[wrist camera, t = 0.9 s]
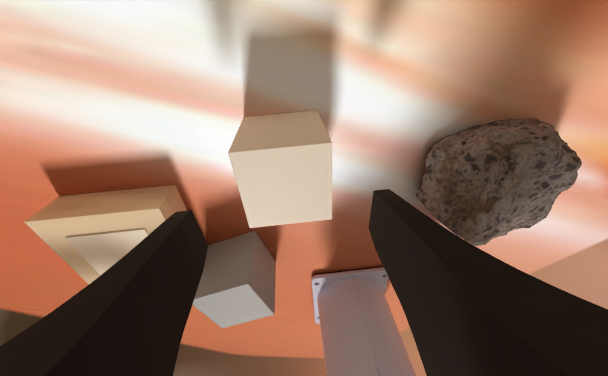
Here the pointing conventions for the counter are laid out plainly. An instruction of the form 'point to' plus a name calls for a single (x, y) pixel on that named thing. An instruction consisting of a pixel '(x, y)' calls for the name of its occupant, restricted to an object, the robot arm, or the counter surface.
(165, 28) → the counter surface
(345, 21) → the counter surface
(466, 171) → the rock
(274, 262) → the slate cube
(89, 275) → the maple slab
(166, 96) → the counter surface
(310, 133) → the ivory cube
